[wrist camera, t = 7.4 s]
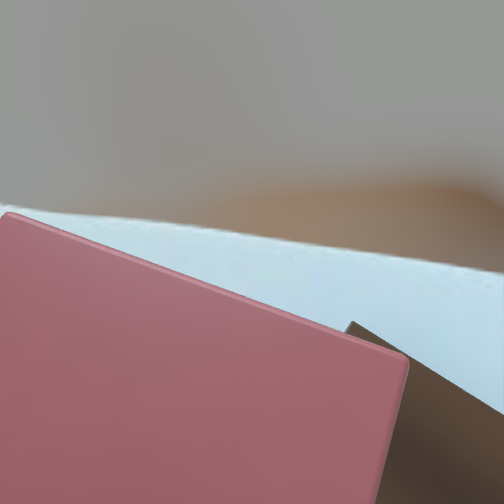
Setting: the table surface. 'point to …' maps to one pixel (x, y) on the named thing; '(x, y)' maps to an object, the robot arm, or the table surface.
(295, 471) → the packet
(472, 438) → the shelf
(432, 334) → the table surface
